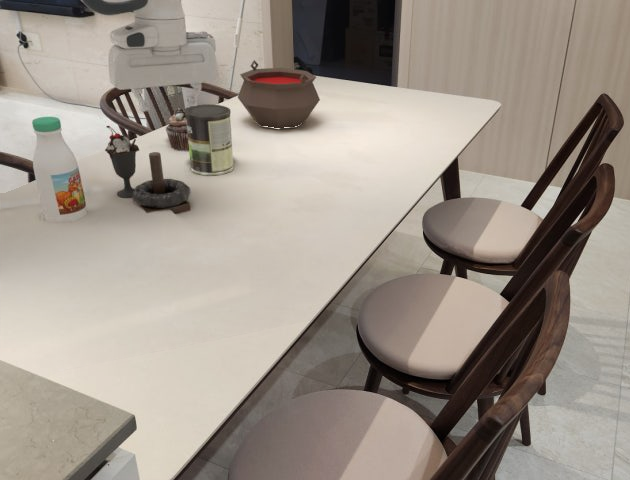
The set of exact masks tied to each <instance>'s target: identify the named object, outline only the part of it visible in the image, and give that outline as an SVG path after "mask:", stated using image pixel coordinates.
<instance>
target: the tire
mask: <svg viewBox="0 0 630 480" xmlns="http://www.w3.org/2000/svg"><path fill="white" fill-rule="evenodd" d="M164 186H165V192H171V193H166V194H154V188H153V181H152V179H151V180H147V181H144V182H142V183H140V184H138V185H136V186H135V188H134V189H135V190H134V192H133V198H134V199H135V200H136V201H137V203H138V204H140V205H142V206H146V207H150V208H167V207H172V206H177V205H179V204H181V203H183V202H185V201H187V202H188V200H189V198H190V196H191V193H192V192H191V191H192V190H191V188H190V186H189V185H188V184H187V183H185V182H184V181H182V180H177V179H173V178H164ZM137 203H136V204H137ZM138 204H137V205H138Z"/></svg>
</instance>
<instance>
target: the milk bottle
mask: <svg viewBox="0 0 630 480" xmlns="http://www.w3.org/2000/svg"><path fill="white" fill-rule="evenodd" d="M31 124H32V128H33V132H34V133H35V135H36V143H35V148H34V152H33V157H32V166H33V167H32V168H33V172H34V179H35V182H36V183H35V184H36V187H37V192H38V196H39V201H40V204H41V209H42V213H43V217H44V220H46V221H48V222H52V223H69V222H74V221H77V220H80V219H82V218H84V217H85V216H86V215H87V214H88V208H87V202H86V198H85V193H84V188H83V187H84V186H83V182H82V177H81V173H80V170H79V165H78V161H77V158H76V156H75V153H74V152H73V151H72V149H71V148H70V147H69V145H68V144H67V142H66V140H65V139H64V137H63V135H62V131H63V129H62V123H61V120H60V118H58V117H56V116H41V117H37V118H34V119H32V122H31Z"/></svg>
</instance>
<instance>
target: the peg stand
mask: <svg viewBox="0 0 630 480" xmlns="http://www.w3.org/2000/svg"><path fill="white" fill-rule="evenodd" d="M161 156H162V155H161V152H158V151H154V152H153V151H152V152H149V153H148V159H149V165H150V172H151V173H150V174H151V180H152V181H153V188H154V194H166V193H171V192H165V186H164V179H165V178H164V171H163V164H162V157H161ZM131 199H132V203H136V204H137V205H138V206H139V207H140V208H141V209H142V210H143V211H144V212H145V213H146V214H148V213H153V212H159V211H164V210H170V211H171V212H172V213H173V214H179V213H184V212H188V211H191V204H190V202H189V201H188V200H187V201H185V202H183V203H181V204H179V205H177V206H172V207H167V208H150V207H146V206H142V205H140V204H138V203H137V201H136V200H135V199H134V198H133V197H131Z"/></svg>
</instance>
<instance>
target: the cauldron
mask: <svg viewBox="0 0 630 480" xmlns="http://www.w3.org/2000/svg"><path fill="white" fill-rule="evenodd" d="M254 65H255V66H254ZM258 66H259V63H258V62H257V61H256V60H255V59H253V60H252V63H251V64H250V67H251V69H250V70H248V71H245V72H242V73H240V74H239V75H240V77H241V78H242V79H243V82H242V84H241V87H240V90H239V91H238V95H237V99H238V101H240V103H241V104H242V106H243V107H244V108H245V110H246V111H247V112H248V114H249V116H251V118H252V119H253V121H254V120H255V121H256V122H257V123H258V124H259V125H261V126H268V127H274V128H284V127H295V126H298V125H300V124H301V123H303V122H304V123H305V122H306V121H307V120H308V118H309V116H310V115H311V114H312V112H313V110H315V108H316V107H317V105H318V104H319V102H320V100H321V99H320V96H319V94H318V91H317V89H316V87H315V84H314V82H315V79H316V78H317V76H316V75H314V74H312V73H310V72H309V71H307V70H302V69H295V68H286V67H269V68H268V67H267V68H258ZM255 121H254V122H255ZM256 122H255V123H256ZM257 123H256V124H257ZM304 123H303V124H304ZM258 124H257V125H258ZM259 125H258V126H259ZM261 126H260V127H261ZM300 126H301V125H300ZM298 127H299V126H298Z"/></svg>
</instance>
